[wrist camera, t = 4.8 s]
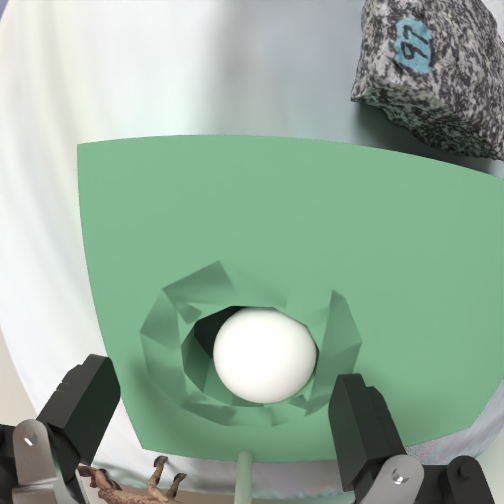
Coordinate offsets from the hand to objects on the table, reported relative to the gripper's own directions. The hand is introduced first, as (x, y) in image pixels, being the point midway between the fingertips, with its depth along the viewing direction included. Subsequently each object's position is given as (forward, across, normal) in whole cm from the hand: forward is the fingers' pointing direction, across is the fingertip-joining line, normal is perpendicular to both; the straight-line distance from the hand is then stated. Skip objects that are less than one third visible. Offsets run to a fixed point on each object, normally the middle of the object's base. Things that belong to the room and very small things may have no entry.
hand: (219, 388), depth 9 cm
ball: (+2, -2, 0) cm, 2 cm away
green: (+4, -6, 0) cm, 7 cm away
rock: (+4, -8, -14) cm, 16 cm away
